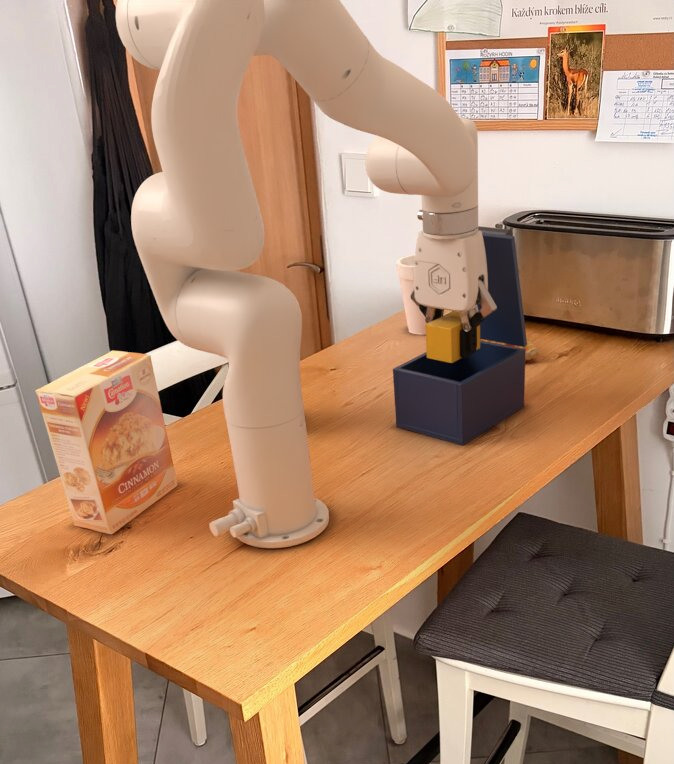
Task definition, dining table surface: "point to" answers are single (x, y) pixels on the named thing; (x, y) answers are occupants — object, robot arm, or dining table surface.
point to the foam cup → (407, 286)
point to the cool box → (460, 392)
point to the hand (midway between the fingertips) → (453, 350)
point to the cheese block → (446, 338)
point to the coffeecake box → (109, 439)
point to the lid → (503, 289)
